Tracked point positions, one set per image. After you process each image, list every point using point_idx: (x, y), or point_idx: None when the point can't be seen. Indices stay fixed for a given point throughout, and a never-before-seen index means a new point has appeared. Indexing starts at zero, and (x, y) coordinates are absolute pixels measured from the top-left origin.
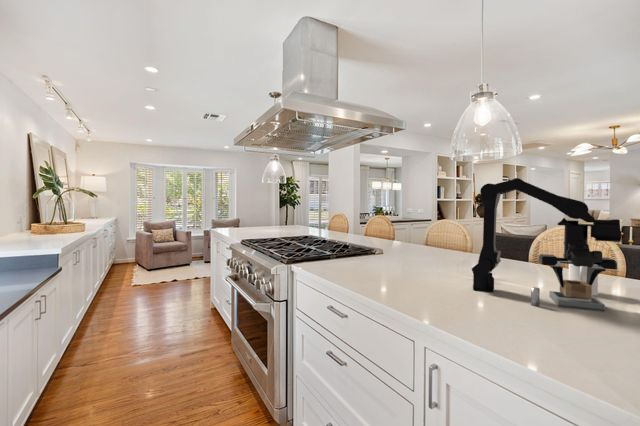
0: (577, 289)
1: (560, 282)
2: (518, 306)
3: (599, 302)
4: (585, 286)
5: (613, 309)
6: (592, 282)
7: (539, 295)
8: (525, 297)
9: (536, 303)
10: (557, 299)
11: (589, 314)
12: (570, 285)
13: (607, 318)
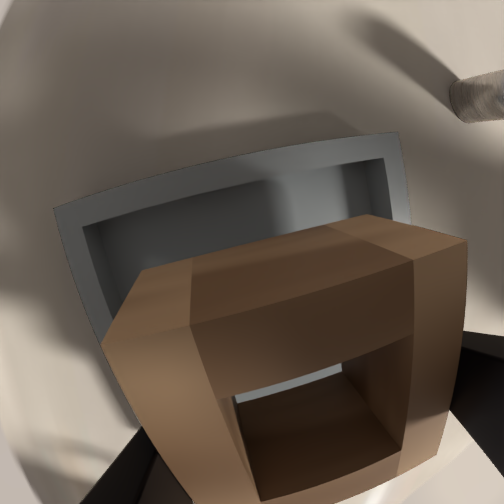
0: (299, 259)
1: (476, 333)
2: (496, 56)
3: (87, 269)
4: (195, 315)
5: (38, 307)
6: (107, 475)
7: (500, 83)
8: (491, 257)
9: (469, 78)
10: (402, 175)
11: (185, 44)
12: (410, 248)
13: (91, 29)
